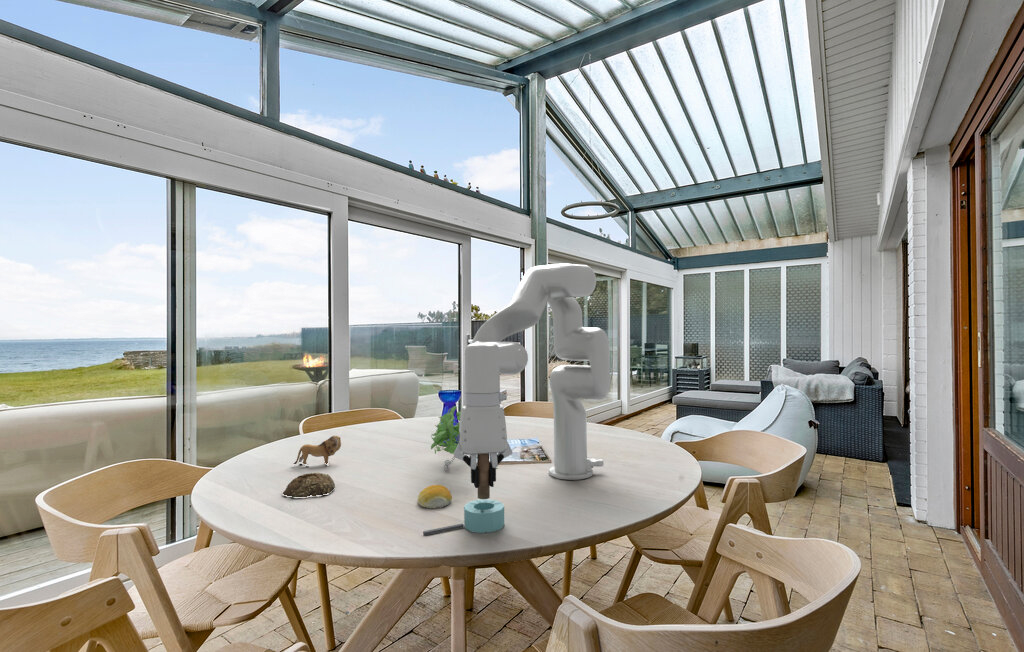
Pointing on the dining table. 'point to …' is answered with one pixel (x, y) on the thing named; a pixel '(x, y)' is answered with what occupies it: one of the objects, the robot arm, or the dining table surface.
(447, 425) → the plant cuttings
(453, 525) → the thin grey bar
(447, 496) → the bread roll
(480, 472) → the round-ended wooden dowel
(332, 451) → the lion figurine
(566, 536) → the dining table surface
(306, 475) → the brown rock
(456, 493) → the dining table surface
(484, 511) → the bead
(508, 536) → the dining table surface
